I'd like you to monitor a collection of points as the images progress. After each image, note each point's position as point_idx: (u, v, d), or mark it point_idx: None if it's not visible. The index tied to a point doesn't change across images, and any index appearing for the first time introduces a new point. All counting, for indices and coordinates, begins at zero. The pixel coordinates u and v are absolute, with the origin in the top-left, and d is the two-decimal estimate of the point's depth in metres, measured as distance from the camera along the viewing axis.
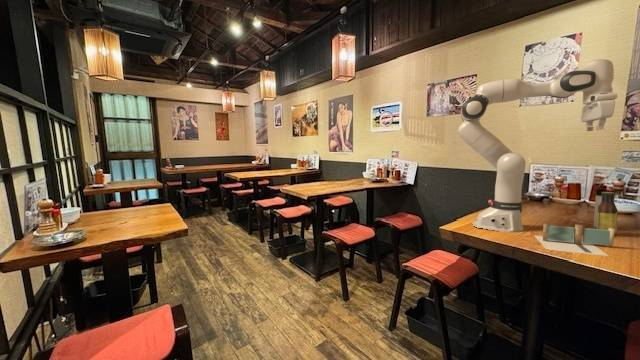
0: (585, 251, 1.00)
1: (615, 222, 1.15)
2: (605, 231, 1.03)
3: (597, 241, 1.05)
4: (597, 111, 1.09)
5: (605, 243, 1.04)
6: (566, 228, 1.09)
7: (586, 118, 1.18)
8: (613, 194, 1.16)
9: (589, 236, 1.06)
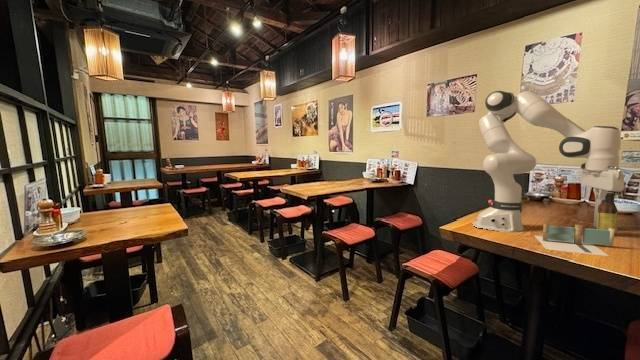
0: (585, 251, 1.00)
1: (615, 222, 1.15)
2: (605, 231, 1.03)
3: (597, 241, 1.05)
4: None
5: (605, 243, 1.04)
6: (566, 228, 1.09)
7: None
8: (613, 194, 1.16)
9: (589, 236, 1.06)
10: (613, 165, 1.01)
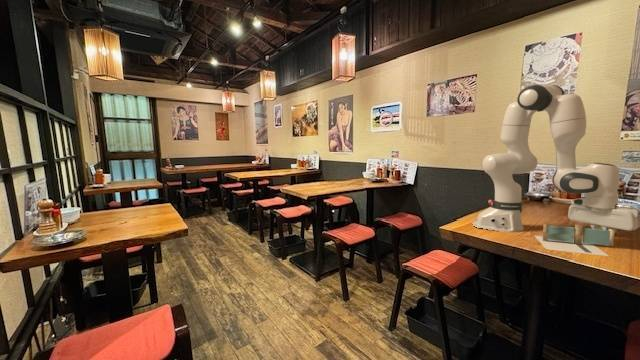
0: (585, 251, 1.00)
1: None
2: (605, 231, 1.03)
3: (597, 241, 1.05)
4: None
5: (605, 243, 1.03)
6: (566, 228, 1.09)
7: None
8: None
9: (589, 236, 1.06)
10: (617, 203, 1.01)
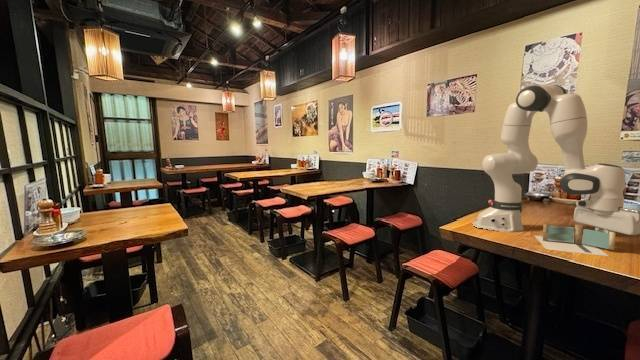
0: (585, 251, 1.00)
1: None
2: (604, 234, 1.00)
3: (596, 243, 1.02)
4: None
5: (604, 246, 1.00)
6: (566, 228, 1.09)
7: None
8: None
9: (588, 237, 1.05)
10: (622, 206, 0.97)
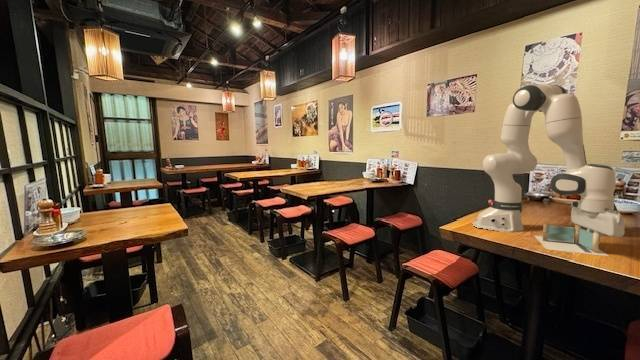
0: (585, 251, 1.00)
1: None
2: (590, 234, 1.00)
3: (586, 244, 1.03)
4: None
5: (590, 246, 1.00)
6: (566, 228, 1.09)
7: None
8: (613, 194, 1.16)
9: (581, 237, 1.05)
10: (610, 207, 0.95)
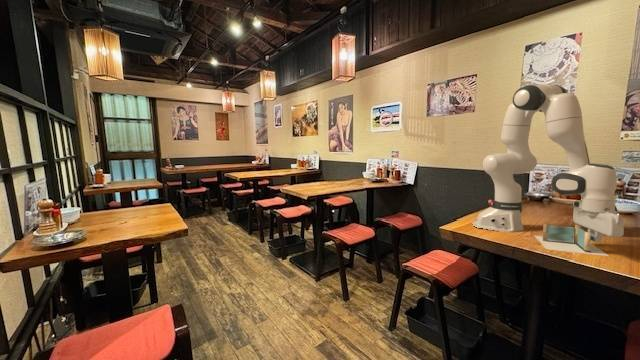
0: (585, 251, 1.00)
1: None
2: (583, 234, 1.01)
3: (581, 243, 1.03)
4: None
5: (583, 246, 1.01)
6: (566, 228, 1.09)
7: None
8: None
9: (579, 237, 1.05)
10: (610, 207, 0.94)
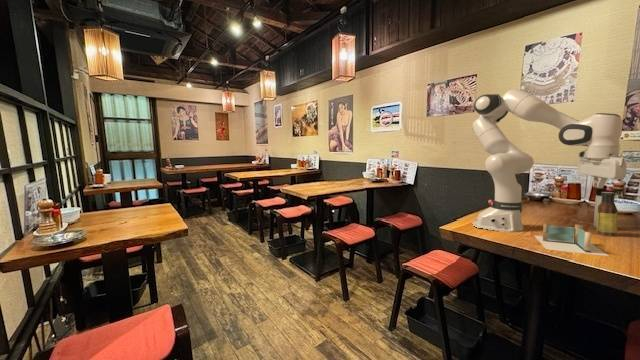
0: (585, 251, 1.00)
1: (615, 222, 1.15)
2: (583, 234, 1.01)
3: (581, 243, 1.03)
4: None
5: (583, 246, 1.01)
6: (566, 228, 1.09)
7: None
8: (613, 194, 1.16)
9: (579, 237, 1.05)
10: (614, 153, 1.00)
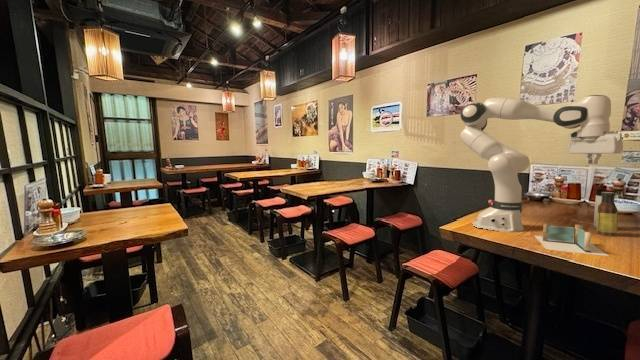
0: (585, 251, 1.00)
1: (615, 222, 1.15)
2: (583, 234, 1.01)
3: (581, 243, 1.03)
4: None
5: (583, 246, 1.01)
6: (566, 228, 1.09)
7: None
8: (613, 194, 1.16)
9: (579, 237, 1.05)
10: (607, 130, 1.09)
